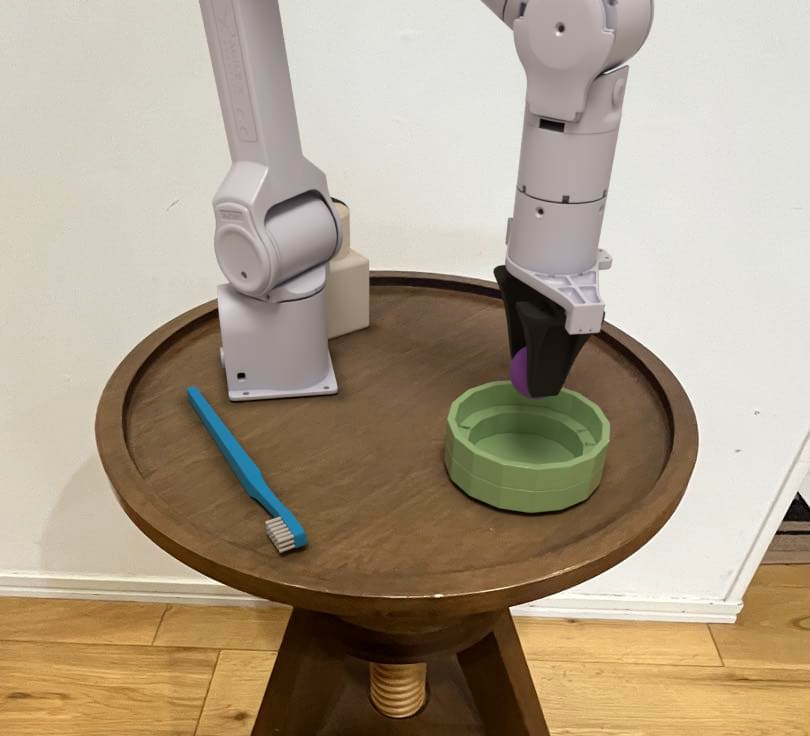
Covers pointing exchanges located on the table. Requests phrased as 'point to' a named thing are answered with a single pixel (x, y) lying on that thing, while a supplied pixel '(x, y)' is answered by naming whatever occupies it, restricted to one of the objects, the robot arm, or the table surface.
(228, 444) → the toothbrush
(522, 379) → the ball
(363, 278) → the cylinder-topped cream block
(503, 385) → the bowl
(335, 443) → the table surface
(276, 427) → the table surface
